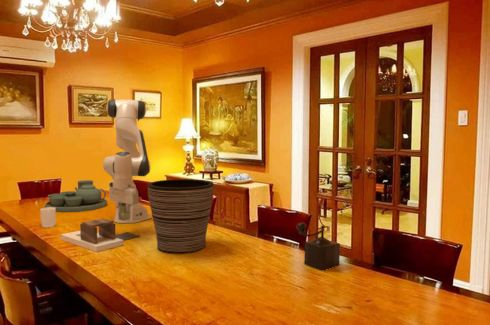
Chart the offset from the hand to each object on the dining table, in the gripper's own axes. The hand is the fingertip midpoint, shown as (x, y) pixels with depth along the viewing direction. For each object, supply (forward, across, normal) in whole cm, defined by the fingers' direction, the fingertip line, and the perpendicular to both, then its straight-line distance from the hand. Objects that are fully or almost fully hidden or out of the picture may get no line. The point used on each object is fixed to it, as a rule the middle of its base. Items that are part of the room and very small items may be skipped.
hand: (124, 211), depth 207 cm
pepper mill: (+14, -97, -24) cm, 101 cm away
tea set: (+13, +93, -26) cm, 98 cm away
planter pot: (+14, -35, -7) cm, 38 cm away
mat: (+13, 0, 0) cm, 13 cm away
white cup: (+13, +52, +14) cm, 56 cm away
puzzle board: (+13, +4, +16) cm, 21 cm away
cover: (+11, -2, +16) cm, 19 cm away
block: (+4, 0, 0) cm, 4 cm away
